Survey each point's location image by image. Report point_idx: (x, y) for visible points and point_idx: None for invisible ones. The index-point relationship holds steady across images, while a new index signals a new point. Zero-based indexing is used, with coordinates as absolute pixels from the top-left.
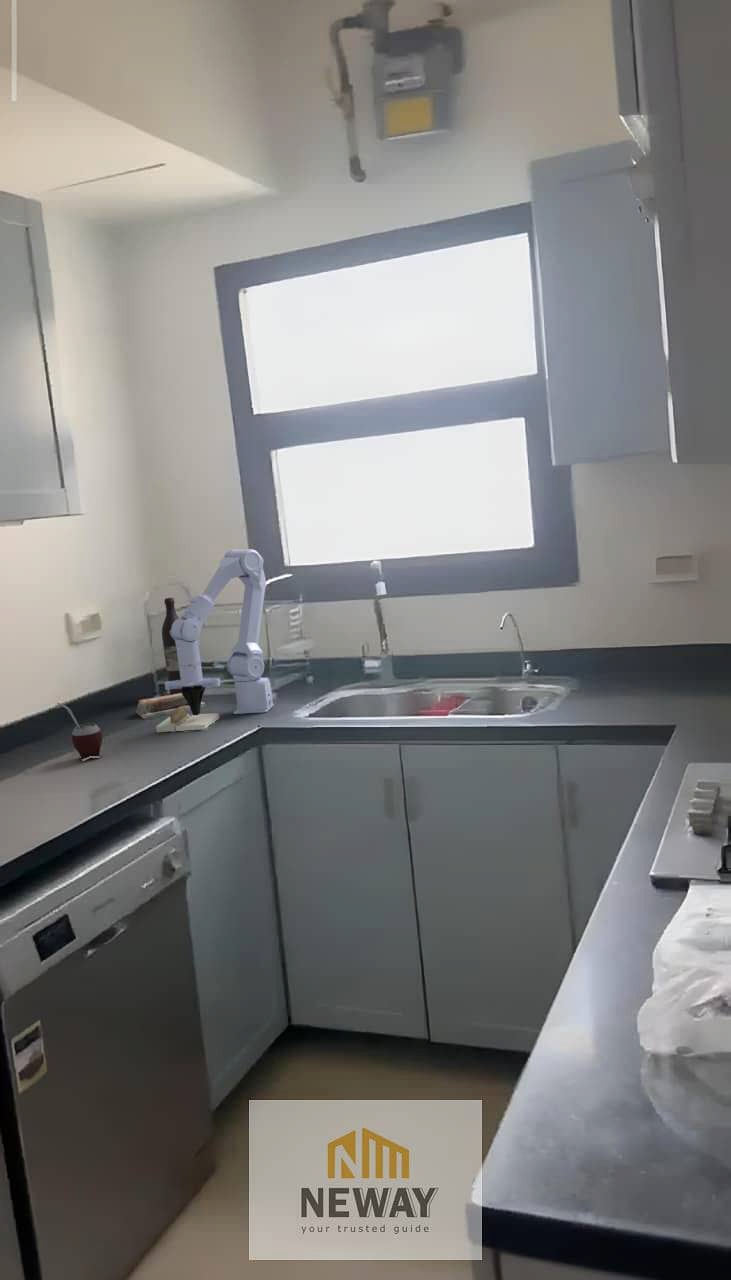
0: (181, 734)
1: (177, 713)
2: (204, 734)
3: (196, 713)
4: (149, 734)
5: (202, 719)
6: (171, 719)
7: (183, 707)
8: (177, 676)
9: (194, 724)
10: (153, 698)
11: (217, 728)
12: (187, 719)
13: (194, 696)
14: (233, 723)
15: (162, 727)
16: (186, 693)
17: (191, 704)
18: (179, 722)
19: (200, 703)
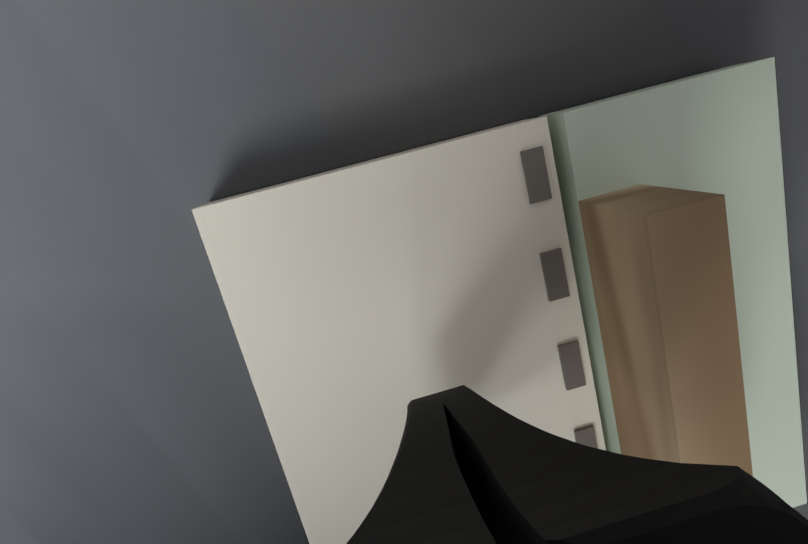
0: (401, 26)
1: (643, 290)
2: (97, 34)
3: (419, 403)
4: (778, 17)
5: (373, 412)
6: (659, 190)
7: None
8: None
9: (338, 208)
10: None
11: (110, 283)
12: (556, 397)
13: (421, 529)
14: (57, 469)
15: (691, 78)
16: (622, 509)
17: (491, 439)
18: (588, 285)
19: None
